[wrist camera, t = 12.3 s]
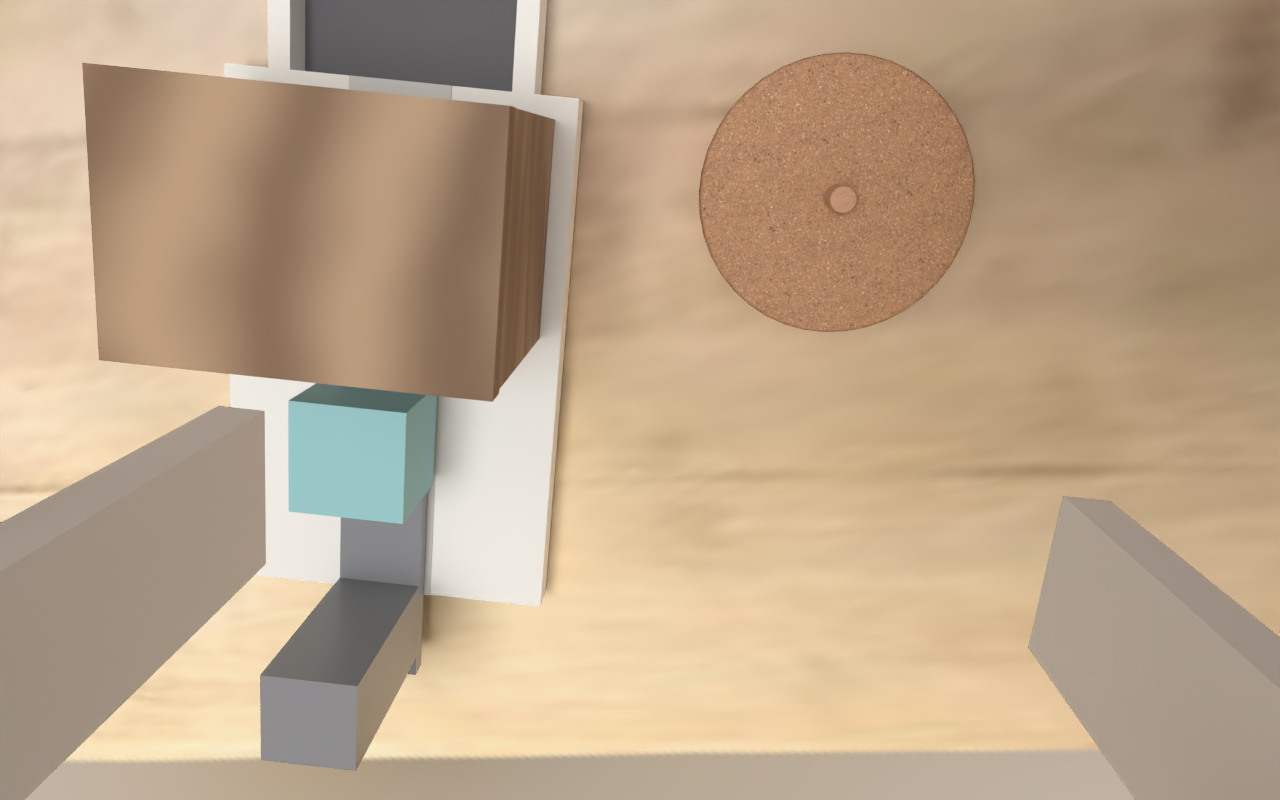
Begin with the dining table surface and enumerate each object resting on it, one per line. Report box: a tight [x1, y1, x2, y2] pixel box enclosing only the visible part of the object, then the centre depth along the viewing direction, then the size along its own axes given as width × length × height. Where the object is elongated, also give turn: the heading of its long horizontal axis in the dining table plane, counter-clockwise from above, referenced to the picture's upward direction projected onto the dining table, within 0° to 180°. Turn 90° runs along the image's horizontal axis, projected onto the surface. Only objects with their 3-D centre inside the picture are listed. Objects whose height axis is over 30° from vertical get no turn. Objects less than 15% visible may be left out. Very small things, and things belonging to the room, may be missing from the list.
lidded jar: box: [699, 53, 975, 332], centre depth 39 cm, size 11×11×9 cm
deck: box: [224, 0, 584, 607], centre depth 44 cm, size 16×32×2 cm, turn 174°
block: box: [288, 383, 437, 524], centre depth 42 cm, size 5×5×5 cm
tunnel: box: [82, 63, 555, 402], centre depth 37 cm, size 14×10×12 cm
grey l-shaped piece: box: [260, 492, 428, 771], centre depth 41 cm, size 4×18×10 cm, turn 174°
